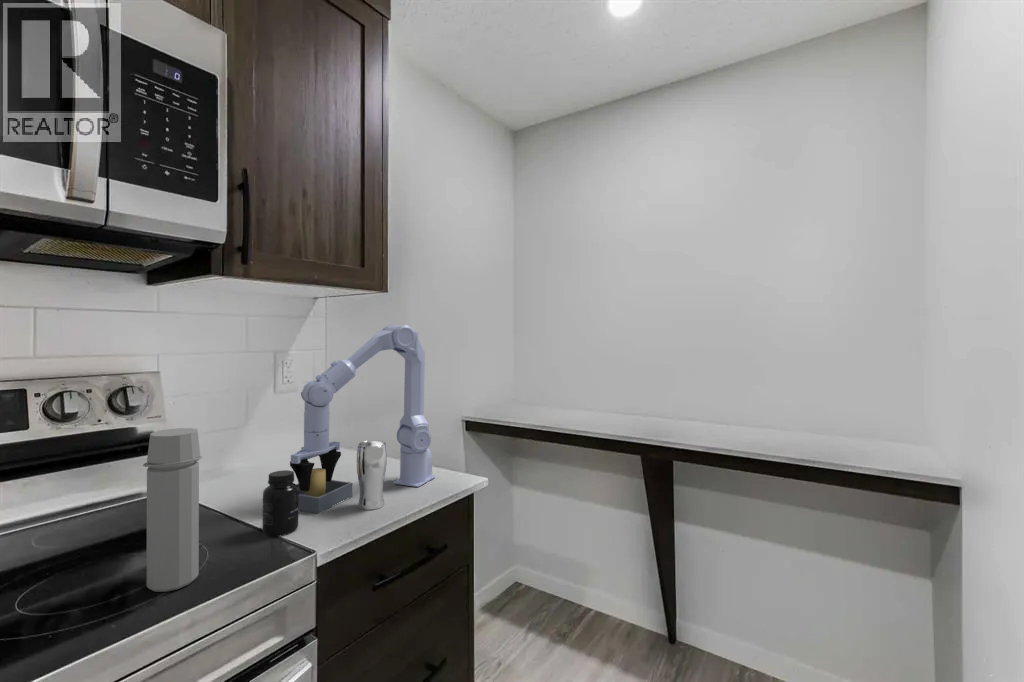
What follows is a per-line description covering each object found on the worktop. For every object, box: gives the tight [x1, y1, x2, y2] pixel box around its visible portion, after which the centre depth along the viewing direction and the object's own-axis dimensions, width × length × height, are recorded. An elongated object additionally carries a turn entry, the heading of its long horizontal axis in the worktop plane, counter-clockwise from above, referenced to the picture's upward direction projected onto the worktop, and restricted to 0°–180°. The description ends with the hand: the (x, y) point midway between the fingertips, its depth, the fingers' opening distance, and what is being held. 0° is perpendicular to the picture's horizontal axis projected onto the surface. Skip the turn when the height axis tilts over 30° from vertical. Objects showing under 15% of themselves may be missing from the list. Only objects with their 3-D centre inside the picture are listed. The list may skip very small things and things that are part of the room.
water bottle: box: [142, 427, 203, 593], centre depth 79 cm, size 9×8×25 cm
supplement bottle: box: [261, 469, 300, 537], centre depth 99 cm, size 7×7×12 cm
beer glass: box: [356, 439, 388, 511], centre depth 114 cm, size 7×7×15 cm
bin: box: [295, 479, 353, 514], centre depth 116 cm, size 12×12×4 cm
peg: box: [306, 467, 326, 497], centre depth 116 cm, size 4×4×7 cm
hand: (316, 485), depth 116 cm, fingers open, 7 cm apart
